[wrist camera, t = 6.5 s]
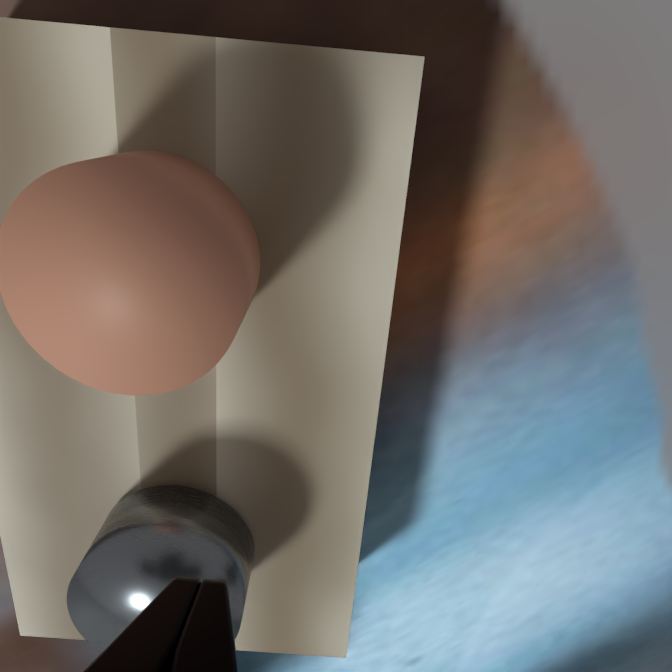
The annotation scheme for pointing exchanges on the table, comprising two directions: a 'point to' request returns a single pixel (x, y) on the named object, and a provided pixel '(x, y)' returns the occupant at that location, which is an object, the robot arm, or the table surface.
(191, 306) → the pink mushroom knob
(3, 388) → the plunger block
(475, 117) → the table surface
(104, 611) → the metal plunger
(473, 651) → the table surface
